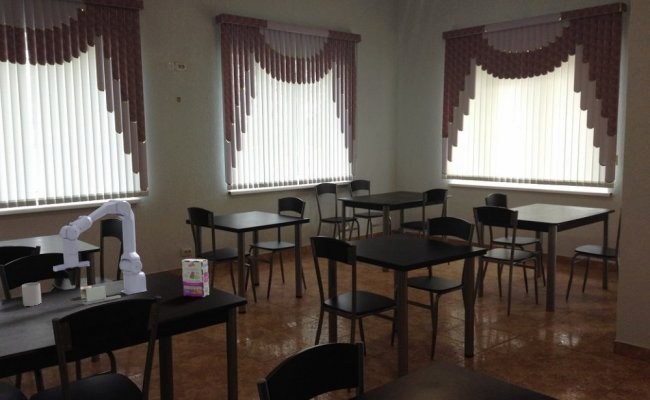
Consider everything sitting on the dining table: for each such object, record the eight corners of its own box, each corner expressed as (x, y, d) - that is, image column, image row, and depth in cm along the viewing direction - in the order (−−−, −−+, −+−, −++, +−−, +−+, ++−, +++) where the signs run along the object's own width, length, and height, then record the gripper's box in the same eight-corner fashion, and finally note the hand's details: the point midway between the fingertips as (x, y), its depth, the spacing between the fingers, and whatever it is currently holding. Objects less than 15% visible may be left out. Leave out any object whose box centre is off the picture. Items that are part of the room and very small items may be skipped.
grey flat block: (104, 297, 267) (104, 285, 266) (105, 298, 266) (105, 286, 265) (86, 301, 262) (85, 289, 261) (87, 302, 261) (86, 289, 260)
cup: (24, 307, 258) (22, 287, 257) (21, 302, 267) (19, 283, 266) (42, 304, 262) (41, 284, 261) (39, 300, 270) (37, 280, 270)
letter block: (91, 295, 276) (91, 285, 276) (92, 297, 272) (91, 288, 272) (81, 296, 275) (80, 286, 274) (81, 299, 270) (80, 289, 270)
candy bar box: (210, 294, 271) (208, 259, 269) (203, 297, 266) (202, 261, 264) (189, 293, 275) (187, 257, 273) (182, 295, 270) (180, 260, 269)
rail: (118, 296, 272) (118, 295, 272) (121, 297, 270) (121, 296, 270) (83, 303, 261) (83, 302, 261) (85, 305, 260) (85, 303, 260)
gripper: (84, 250, 263) (86, 280, 265) (49, 255, 254) (52, 286, 255) (90, 252, 258) (92, 283, 259) (55, 257, 248) (57, 289, 250)
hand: (73, 285), depth 257 cm, fingers closed
